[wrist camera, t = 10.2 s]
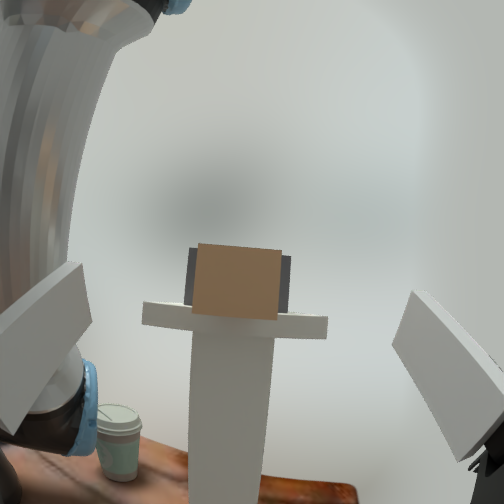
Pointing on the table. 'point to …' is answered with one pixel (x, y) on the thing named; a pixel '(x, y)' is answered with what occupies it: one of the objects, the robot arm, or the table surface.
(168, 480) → the table surface
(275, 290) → the hammer
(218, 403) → the tall stand
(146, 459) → the table surface
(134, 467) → the coffee cup
